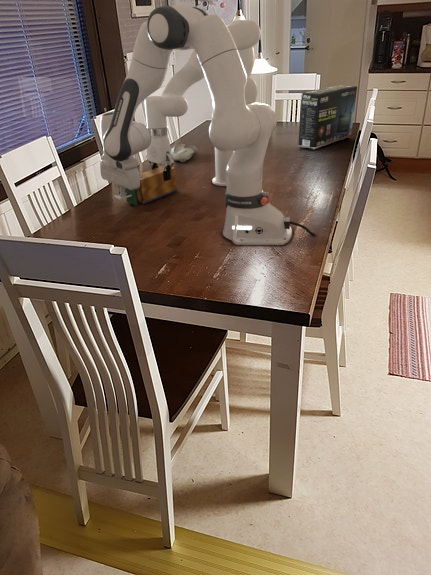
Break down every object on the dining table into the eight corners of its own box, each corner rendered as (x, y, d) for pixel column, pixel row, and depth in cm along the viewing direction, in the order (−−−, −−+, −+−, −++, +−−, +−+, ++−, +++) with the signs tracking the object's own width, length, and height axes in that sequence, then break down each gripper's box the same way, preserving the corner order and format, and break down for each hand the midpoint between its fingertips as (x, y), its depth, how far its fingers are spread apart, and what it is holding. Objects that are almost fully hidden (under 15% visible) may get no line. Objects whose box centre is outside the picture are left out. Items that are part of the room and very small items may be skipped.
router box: (314, 151, 231) (318, 94, 217) (296, 148, 237) (299, 92, 224) (352, 138, 251) (358, 85, 238) (335, 135, 258) (340, 83, 245)
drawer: (122, 209, 170) (118, 189, 166) (115, 206, 174) (111, 186, 169) (166, 192, 183) (164, 173, 179) (158, 189, 186) (156, 170, 182)
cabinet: (144, 204, 176) (140, 180, 171) (134, 200, 180) (130, 176, 175) (177, 190, 186) (174, 167, 181) (167, 187, 190) (164, 164, 184)
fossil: (184, 156, 217) (163, 136, 220) (174, 174, 223) (154, 154, 227) (205, 153, 231) (186, 134, 234) (195, 171, 237) (176, 152, 240)
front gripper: (93, 155, 169) (99, 191, 176) (126, 166, 157) (130, 204, 164) (108, 151, 173) (112, 186, 180) (141, 162, 160) (144, 199, 168)
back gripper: (135, 130, 176) (140, 176, 185) (164, 136, 165) (168, 185, 174) (150, 127, 180) (155, 172, 189) (180, 133, 170) (183, 180, 179)
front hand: (121, 195), depth 172 cm, fingers closed, pressing on drawer
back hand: (161, 178), depth 182 cm, fingers closed on cabinet, 6 cm apart
